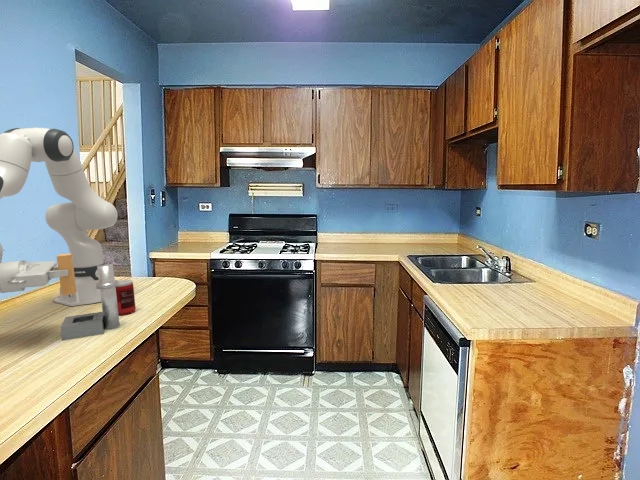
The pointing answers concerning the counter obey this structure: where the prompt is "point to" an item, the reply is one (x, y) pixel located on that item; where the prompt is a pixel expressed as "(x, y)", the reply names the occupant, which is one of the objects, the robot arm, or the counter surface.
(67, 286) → the tall orange pillar block
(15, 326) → the counter surface
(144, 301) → the counter surface
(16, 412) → the counter surface
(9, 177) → the robot arm
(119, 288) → the canned food
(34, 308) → the counter surface
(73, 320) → the grey socket with post
